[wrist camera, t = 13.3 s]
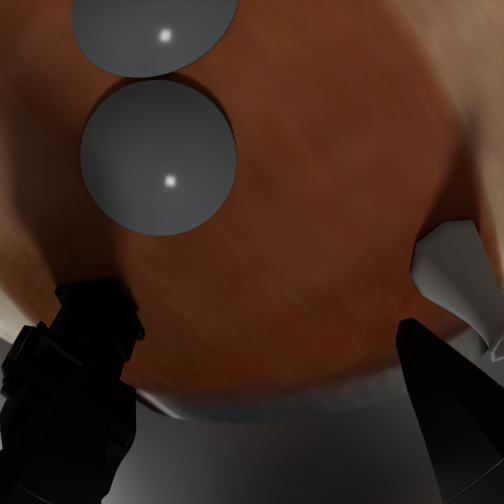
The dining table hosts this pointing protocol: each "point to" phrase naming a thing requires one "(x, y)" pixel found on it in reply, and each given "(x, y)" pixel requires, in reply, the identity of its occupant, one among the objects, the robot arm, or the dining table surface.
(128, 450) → the robot arm
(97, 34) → the coaster mid
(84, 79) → the dining table surface
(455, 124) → the dining table surface
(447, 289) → the flask
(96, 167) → the coaster
